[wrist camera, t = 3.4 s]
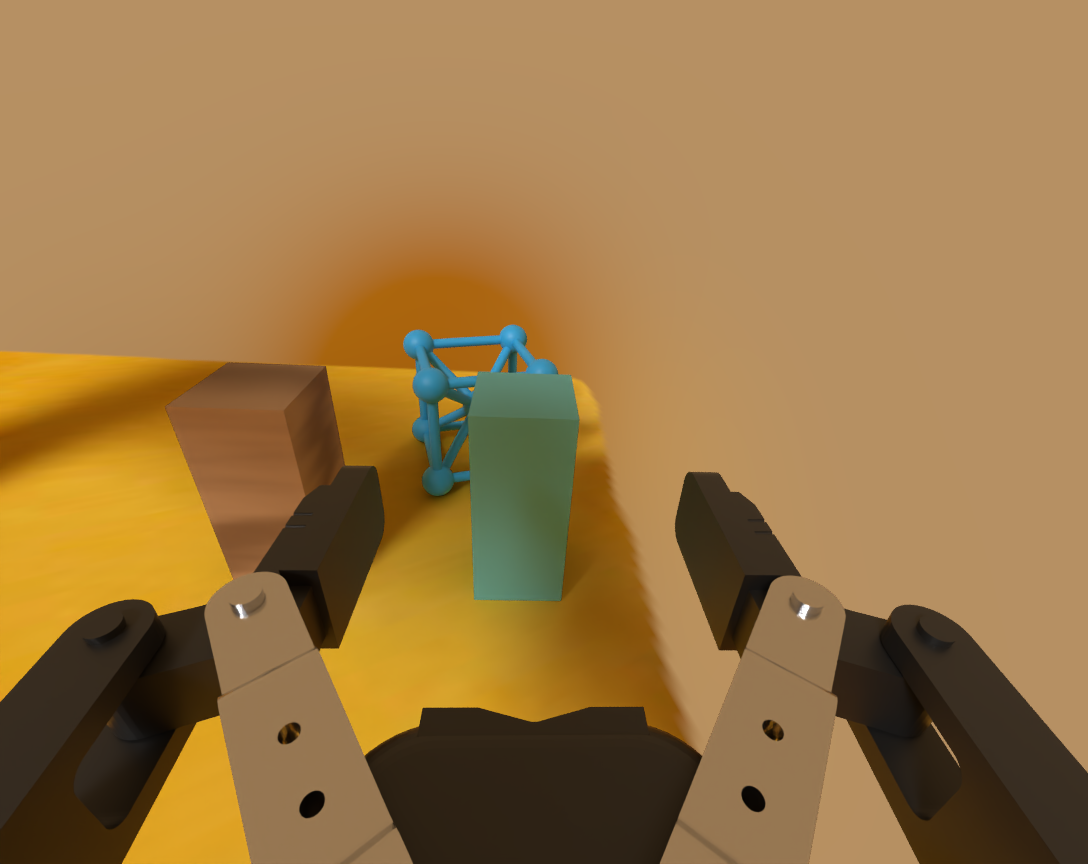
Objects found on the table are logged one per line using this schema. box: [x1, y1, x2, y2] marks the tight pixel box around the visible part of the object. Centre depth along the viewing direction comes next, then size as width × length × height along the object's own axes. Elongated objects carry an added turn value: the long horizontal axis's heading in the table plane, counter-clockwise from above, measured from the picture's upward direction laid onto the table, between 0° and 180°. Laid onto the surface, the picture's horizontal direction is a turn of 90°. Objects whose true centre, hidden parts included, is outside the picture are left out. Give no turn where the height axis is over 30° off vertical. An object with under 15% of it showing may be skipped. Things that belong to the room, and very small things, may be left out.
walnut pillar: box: [165, 363, 345, 579], centre depth 26 cm, size 5×5×12 cm
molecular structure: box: [404, 325, 558, 496], centre depth 37 cm, size 10×10×10 cm
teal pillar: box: [468, 372, 579, 601], centre depth 27 cm, size 5×5×12 cm
